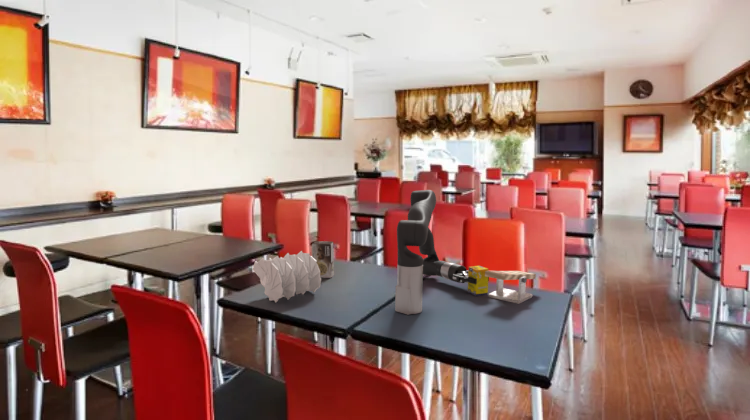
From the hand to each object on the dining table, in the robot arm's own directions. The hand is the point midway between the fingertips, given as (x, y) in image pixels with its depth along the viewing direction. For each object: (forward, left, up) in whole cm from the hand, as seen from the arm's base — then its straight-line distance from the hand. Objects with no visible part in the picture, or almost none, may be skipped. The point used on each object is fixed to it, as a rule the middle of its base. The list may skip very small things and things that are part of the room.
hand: (482, 280), depth 190 cm
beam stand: (+5, -10, -6) cm, 13 cm away
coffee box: (-26, +69, -6) cm, 74 cm away
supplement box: (0, +2, -6) cm, 7 cm away
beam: (+5, -10, +2) cm, 11 cm away
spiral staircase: (-56, +54, -6) cm, 78 cm away
